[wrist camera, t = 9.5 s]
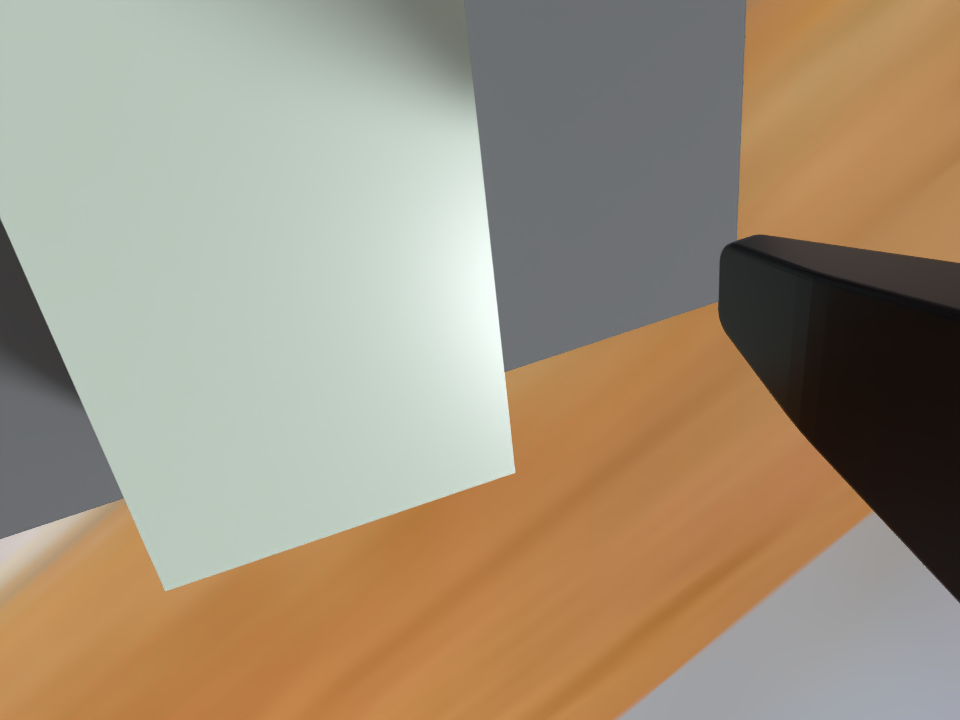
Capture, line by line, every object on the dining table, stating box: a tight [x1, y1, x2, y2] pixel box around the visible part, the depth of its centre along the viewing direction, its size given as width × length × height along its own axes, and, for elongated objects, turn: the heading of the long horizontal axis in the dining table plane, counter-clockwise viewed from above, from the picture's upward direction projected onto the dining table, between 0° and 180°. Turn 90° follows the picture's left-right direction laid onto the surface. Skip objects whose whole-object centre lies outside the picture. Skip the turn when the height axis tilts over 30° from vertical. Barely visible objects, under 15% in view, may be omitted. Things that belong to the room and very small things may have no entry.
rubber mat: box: [0, 0, 746, 539], centre depth 14 cm, size 19×11×1 cm, turn 99°
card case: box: [0, 0, 515, 591], centre depth 12 cm, size 9×6×4 cm, turn 7°
